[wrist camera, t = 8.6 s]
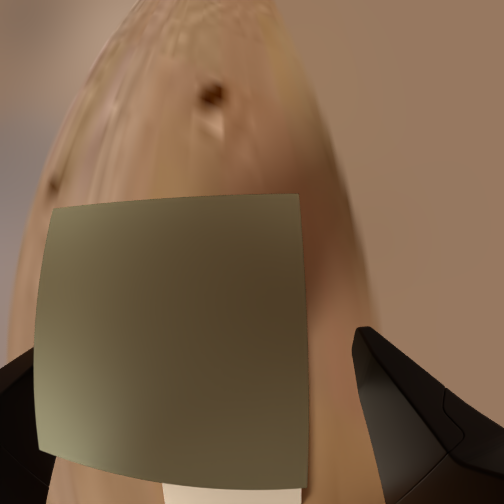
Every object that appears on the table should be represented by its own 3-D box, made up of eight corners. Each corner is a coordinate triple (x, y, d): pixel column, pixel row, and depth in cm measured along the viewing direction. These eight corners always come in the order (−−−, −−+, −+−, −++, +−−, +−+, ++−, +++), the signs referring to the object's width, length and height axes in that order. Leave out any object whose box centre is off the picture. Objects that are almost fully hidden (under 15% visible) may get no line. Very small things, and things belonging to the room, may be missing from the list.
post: (275, 390, 15) (307, 488, 3) (191, 389, 15) (39, 449, 4) (273, 308, 17) (299, 193, 5) (191, 308, 17) (53, 208, 5)
